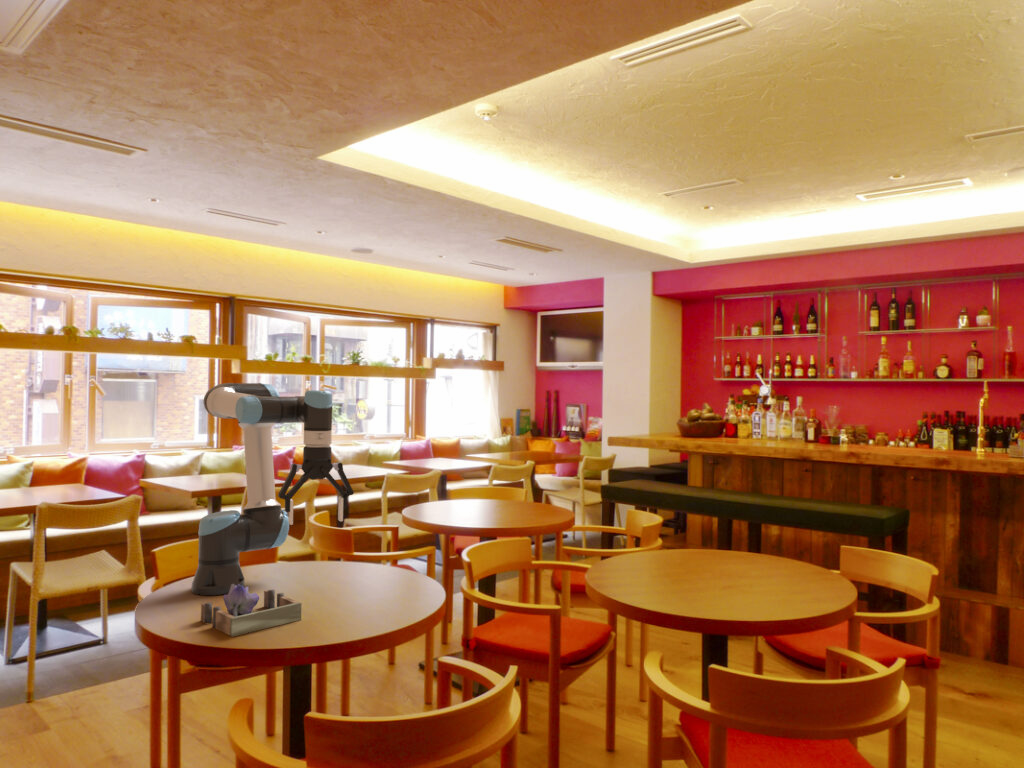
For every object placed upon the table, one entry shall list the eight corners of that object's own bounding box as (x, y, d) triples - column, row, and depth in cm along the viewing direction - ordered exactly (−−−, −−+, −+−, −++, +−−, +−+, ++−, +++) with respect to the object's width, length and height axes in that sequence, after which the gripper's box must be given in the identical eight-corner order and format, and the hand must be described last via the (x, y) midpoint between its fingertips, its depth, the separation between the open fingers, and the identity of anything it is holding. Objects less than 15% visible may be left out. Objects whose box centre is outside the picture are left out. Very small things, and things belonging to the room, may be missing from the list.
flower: (253, 597, 187) (247, 573, 195) (220, 613, 184) (216, 588, 192) (266, 619, 192) (260, 595, 200) (235, 635, 189) (230, 610, 197)
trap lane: (199, 621, 187) (200, 602, 187) (268, 605, 202) (269, 587, 202) (231, 637, 175) (231, 616, 175) (302, 619, 189) (302, 600, 189)
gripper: (272, 447, 188) (270, 527, 188) (365, 445, 199) (363, 521, 199) (268, 445, 195) (267, 522, 194) (358, 443, 206) (357, 516, 206)
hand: (315, 522), depth 197 cm, fingers open, 13 cm apart
